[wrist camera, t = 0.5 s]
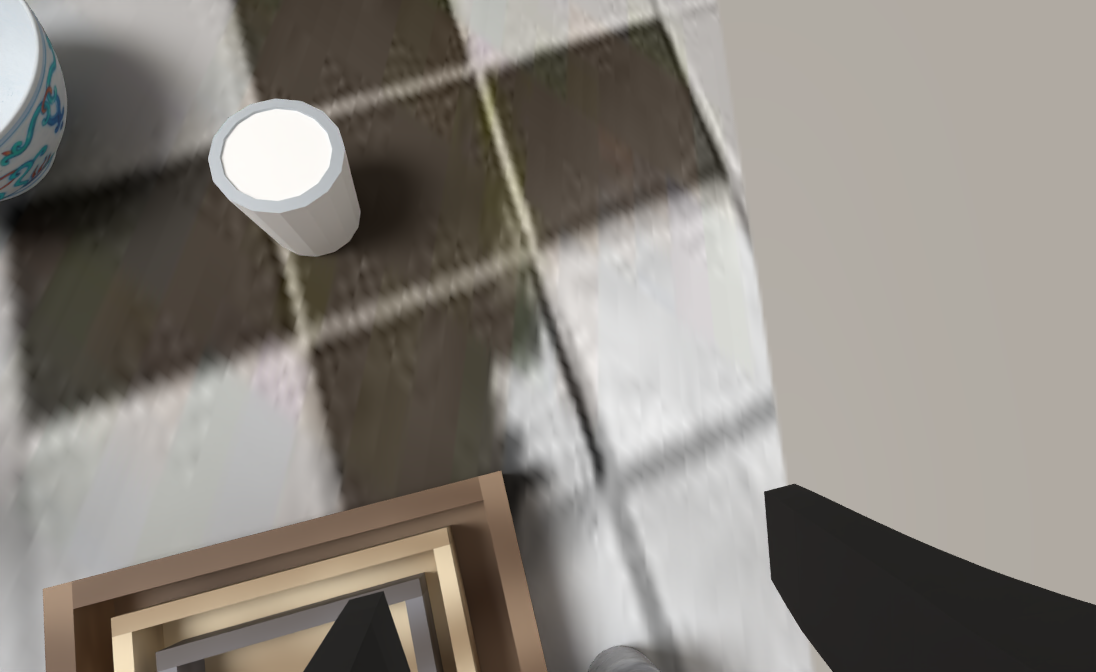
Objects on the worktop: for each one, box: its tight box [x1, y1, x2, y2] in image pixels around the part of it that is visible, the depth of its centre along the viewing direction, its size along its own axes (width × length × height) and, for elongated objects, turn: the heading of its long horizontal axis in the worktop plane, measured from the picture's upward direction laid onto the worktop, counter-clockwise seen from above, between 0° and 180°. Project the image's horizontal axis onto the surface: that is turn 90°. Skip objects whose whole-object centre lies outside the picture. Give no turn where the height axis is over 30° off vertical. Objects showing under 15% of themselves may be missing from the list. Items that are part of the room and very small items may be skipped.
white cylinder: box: [208, 99, 361, 257], centre depth 34 cm, size 7×7×7 cm
